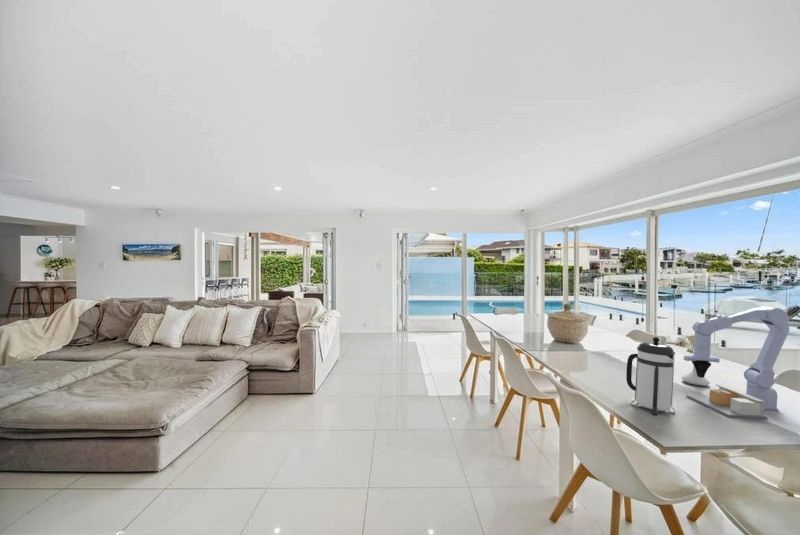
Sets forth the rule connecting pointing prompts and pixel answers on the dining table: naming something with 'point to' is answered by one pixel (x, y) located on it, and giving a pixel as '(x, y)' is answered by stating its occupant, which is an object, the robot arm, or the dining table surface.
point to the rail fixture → (735, 405)
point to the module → (721, 396)
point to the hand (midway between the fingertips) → (700, 377)
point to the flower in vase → (694, 370)
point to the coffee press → (653, 376)
